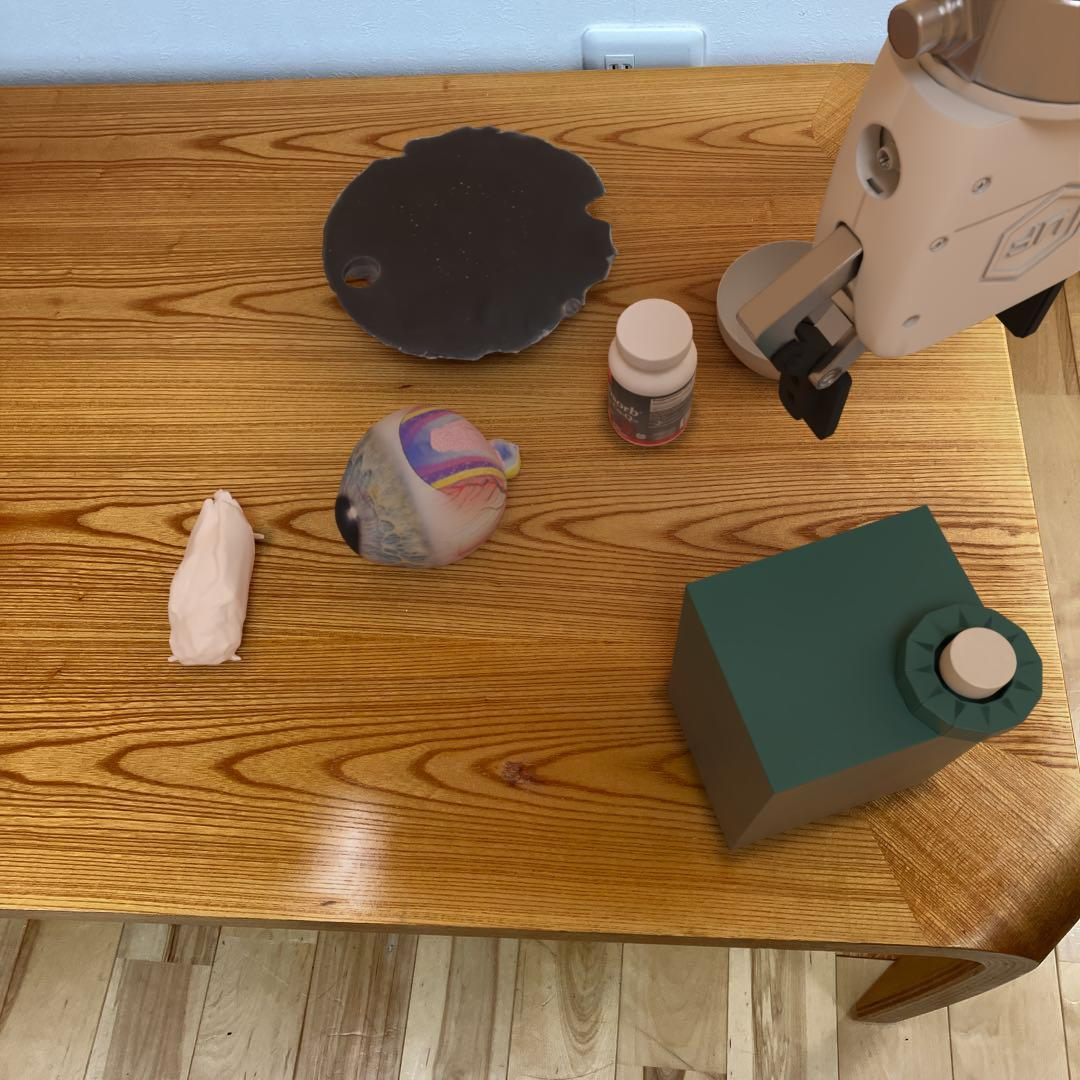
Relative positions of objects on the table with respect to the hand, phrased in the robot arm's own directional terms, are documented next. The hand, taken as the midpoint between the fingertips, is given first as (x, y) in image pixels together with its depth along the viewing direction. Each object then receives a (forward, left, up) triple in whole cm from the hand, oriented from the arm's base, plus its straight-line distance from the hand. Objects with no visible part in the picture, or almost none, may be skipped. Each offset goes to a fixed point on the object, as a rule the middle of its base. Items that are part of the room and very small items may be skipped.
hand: (905, 361), depth 41 cm
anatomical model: (+21, -12, -25) cm, 34 cm away
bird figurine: (+36, -11, -25) cm, 45 cm away
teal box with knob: (+5, +9, -24) cm, 26 cm away
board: (+13, -31, -25) cm, 42 cm away
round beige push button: (+1, +12, -6) cm, 13 cm away
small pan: (-11, -17, -25) cm, 32 cm away
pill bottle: (+5, -15, -25) cm, 29 cm away
